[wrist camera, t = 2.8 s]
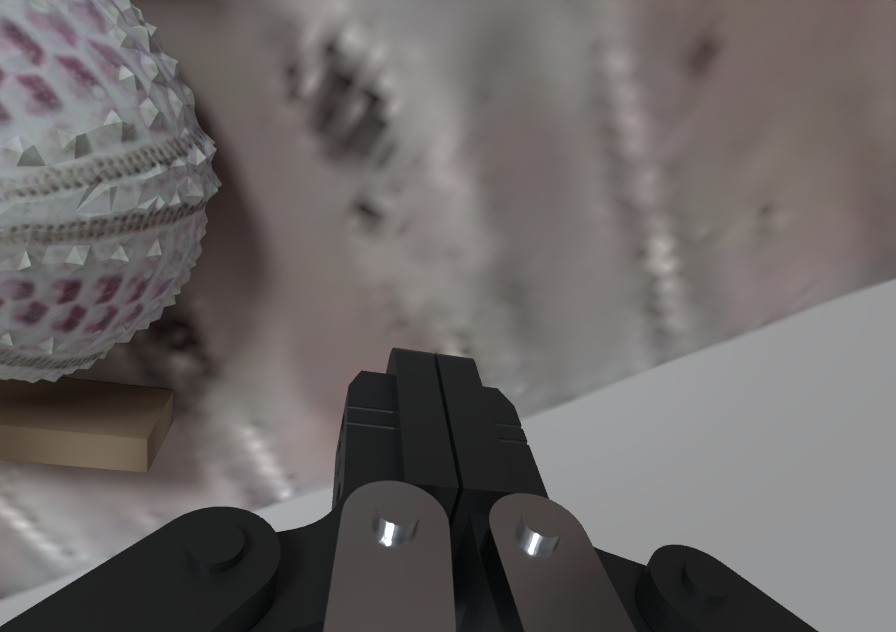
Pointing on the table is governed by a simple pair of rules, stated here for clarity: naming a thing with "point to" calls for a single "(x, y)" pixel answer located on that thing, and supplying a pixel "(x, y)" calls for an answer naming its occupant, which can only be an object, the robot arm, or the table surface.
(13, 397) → the track
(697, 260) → the table surface
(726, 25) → the table surface
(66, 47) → the sea urchin shell
